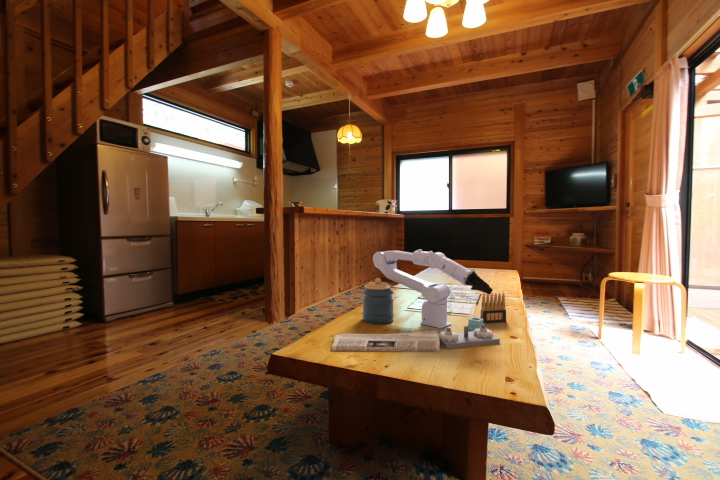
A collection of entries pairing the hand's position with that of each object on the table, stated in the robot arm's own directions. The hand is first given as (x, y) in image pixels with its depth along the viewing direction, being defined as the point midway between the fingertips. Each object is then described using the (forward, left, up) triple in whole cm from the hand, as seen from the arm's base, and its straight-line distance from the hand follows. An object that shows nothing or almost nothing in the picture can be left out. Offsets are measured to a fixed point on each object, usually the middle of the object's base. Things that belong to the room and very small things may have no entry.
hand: (489, 290), depth 116 cm
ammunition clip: (-6, +17, -17) cm, 24 cm away
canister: (-41, -14, -17) cm, 46 cm away
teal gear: (-6, +3, -16) cm, 18 cm away
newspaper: (-20, -32, -17) cm, 42 cm away
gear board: (-3, -11, -16) cm, 20 cm away
